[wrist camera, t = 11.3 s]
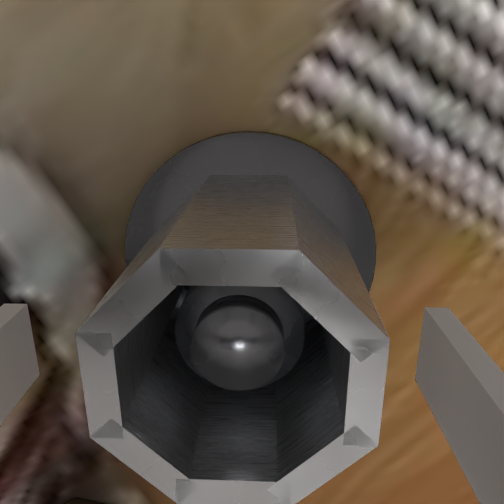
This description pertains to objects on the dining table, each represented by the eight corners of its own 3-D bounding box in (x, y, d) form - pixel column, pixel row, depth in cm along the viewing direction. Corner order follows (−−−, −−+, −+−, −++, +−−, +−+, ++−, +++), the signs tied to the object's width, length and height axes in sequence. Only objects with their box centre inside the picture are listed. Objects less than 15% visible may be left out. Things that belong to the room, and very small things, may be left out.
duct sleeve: (155, 174, 21) (61, 246, 12) (342, 175, 21) (400, 251, 11) (167, 338, 24) (98, 501, 15) (331, 341, 24) (370, 510, 14)
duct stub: (90, 294, 24) (-2, 401, 16) (198, 79, 20) (150, 75, 12) (289, 397, 26) (298, 542, 18) (424, 215, 22) (513, 292, 14)
